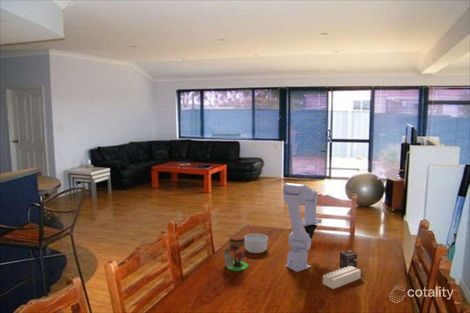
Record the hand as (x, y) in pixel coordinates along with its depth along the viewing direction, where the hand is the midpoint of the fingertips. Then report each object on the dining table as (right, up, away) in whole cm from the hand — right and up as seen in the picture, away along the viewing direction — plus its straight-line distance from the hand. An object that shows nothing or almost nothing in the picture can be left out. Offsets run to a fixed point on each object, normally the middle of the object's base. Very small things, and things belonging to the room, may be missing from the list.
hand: (309, 238), depth 198 cm
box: (+16, -12, -13) cm, 24 cm away
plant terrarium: (-38, -12, -11) cm, 42 cm away
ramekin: (-28, -9, +10) cm, 31 cm away
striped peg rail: (+9, -13, -28) cm, 32 cm away
